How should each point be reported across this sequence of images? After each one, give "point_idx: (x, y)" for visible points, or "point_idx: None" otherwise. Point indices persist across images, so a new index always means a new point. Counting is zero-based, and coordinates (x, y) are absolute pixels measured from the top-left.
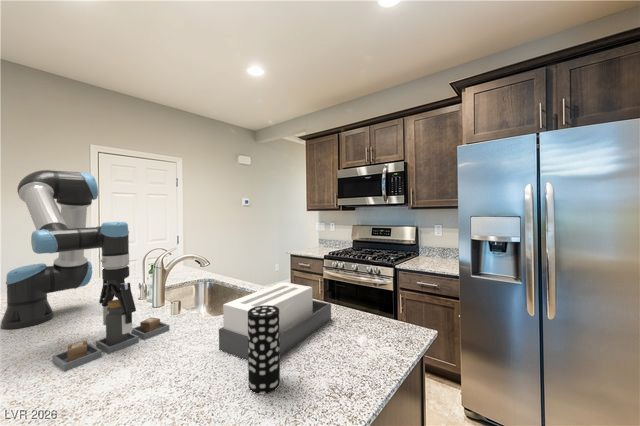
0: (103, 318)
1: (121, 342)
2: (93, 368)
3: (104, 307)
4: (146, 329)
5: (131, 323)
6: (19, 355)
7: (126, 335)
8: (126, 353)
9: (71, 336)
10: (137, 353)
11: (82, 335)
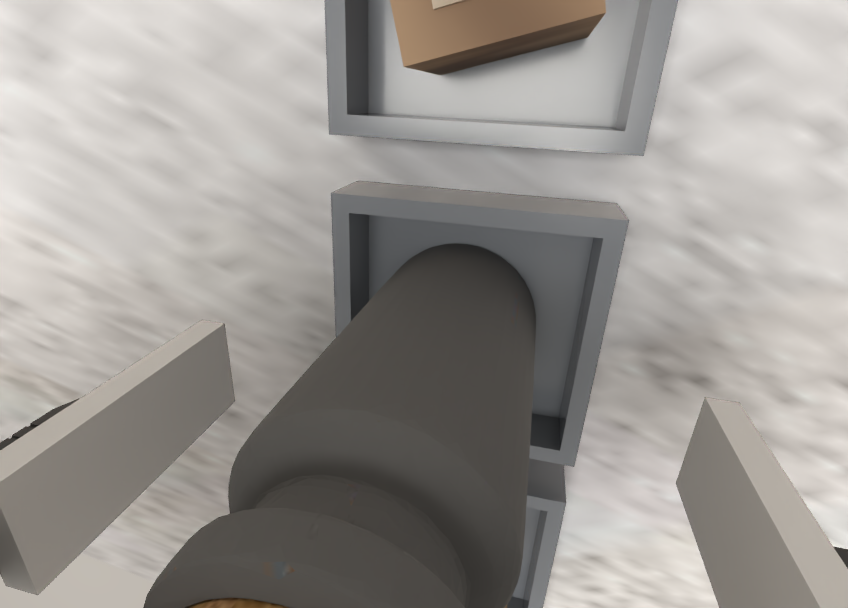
0: (171, 451)
1: (577, 370)
2: (648, 543)
3: (39, 577)
4: (527, 45)
5: (791, 495)
6: (120, 539)
7: (516, 299)
8: (681, 360)
9: (27, 341)
10: (794, 328)
11: (55, 305)
